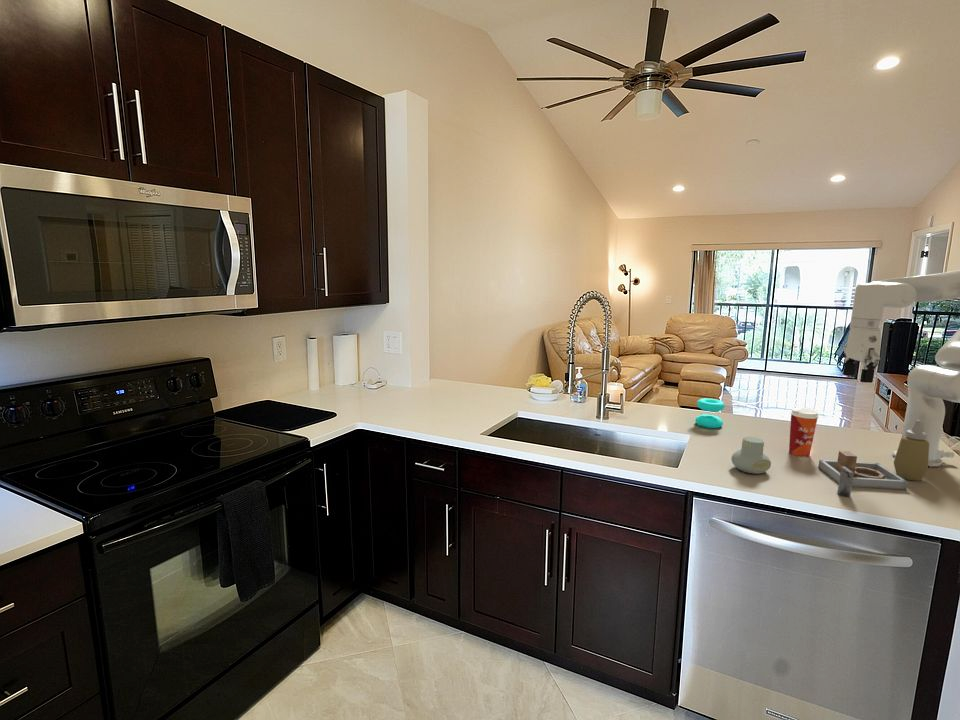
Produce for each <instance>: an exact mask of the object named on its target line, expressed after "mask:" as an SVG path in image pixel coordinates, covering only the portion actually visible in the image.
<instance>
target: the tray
mask: <svg viewBox="0 0 960 720" xmlns="http://www.w3.org/2000/svg"><path fill="white" fill-rule="evenodd" d="M837 461H838V460H831V459H830V460H829V459H819V461H818V469H820V470H821V471H822V472H823V473H825V474H826V475H828V476H829V477H830V478H831V479H832V480H834V481H835V482H836V483H838V484H839V478H840V473H839V472H838V471H837V470H836V468H837ZM856 467H866V468H870V469H873V470H877V471H879V472H881V473H882V474H884V475H885V479H874V478H858V477H853V481H852V488H853V487H854V488H855V487H856V488H870V489H881V490H882V489H883V490H900V491H901V490H902V491H903V490H904V491H907V489H908V484H909V482H908V481H907V479H904V478H901V477H899V476H898V475H896V472H895V473H894V472H893V471H892V470H890V469H889V468H887V467H885V466H883V465H882V464H880V463H879V462H864V461H856ZM860 474H863V475H867V476H874V475H870V474H866V473H860Z"/></svg>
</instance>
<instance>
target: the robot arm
mask: <svg viewBox="0 0 960 720" xmlns="http://www.w3.org/2000/svg"><path fill="white" fill-rule="evenodd" d="M853 297H854V298H853V302H852V303H853V304H852V305H853V306H852V312H851V318H850V325H849V328H850V329H849V334H848V337H847V342H846V345H845V347H843V358H844V359H843V363H844V365H843V371H842V375H843V376H855V374H856V373H855V372H856V367H857V363H856V362H860V363H861V364H862V366H863V368H862V369H861V373H860V379H859V381H860V383H870V384H871V383H873V381H874V376H875V371H876V369H877V367H878V365H879V362H880V360H881V357H880V355H881V346H882V345H881V344H882V341H881V340H882V338H881V337H882V336H881V335H882V334H881V328H882V327H881V326H882V322H883V321H882V319H883V313H884V308H891V309H903V308H907V307H909V306H911V305H912V304H914V303H915V302H916V303H935V302H941V301H942V302H943V301H947V300H953V299H954V300H955V299H958V298H959V299H960V269H955V270H951V271H946V272H945V271H944V272H939V273H932V274H923V275H916V276H906V277H895V278H887V279H881V280H875V281H872V282H863V283H859V284H857V285H856V286H855V290H854V296H853ZM934 360H935V362H936V364H937V365H938V366H937V365H932V364H922V365H917V366H916V367H914V368H912V369H911V370H910V371H909V373H908V375H907V396H908V397H907V404H906V410H905V415H904V421H903V422H904V423H903V428H902V432H901V433H902V434H901V438H902V437H904V436H906V431H907V430H911V429H912V427H913V425H914V423H915V421H916V420H921V424H922V432H924V433H926V434H927V435H926V439H925V440H927V441H928V442H929V458H928V466H929V467H930V468H932V467H937V468H938V467H941V466H942V465H943V460H942V458H950V459H951V458H954V457H955V453H954V452H953V451H945V450H944V449H940V448H939V447H940V442H941V437H942V431H943V426H944V425H943V424H944V421H945V416H946V406H945V403H944V400H945V401H949V402H951V403H959V404H960V327H959V328H958V329H957V331H956V332H955V333H953V335H952V336H951V337H950V338H949V339H948V340H947V341H946V342H945V343H944V344H943V345H942V346H941V347H940V348H939V349H938V351H937V352H936V353H935V357H934ZM897 450H898V449H895V450H893V451H892V456H893V457H894V458H895V456H896V453H897ZM929 467H928V468H929Z"/></svg>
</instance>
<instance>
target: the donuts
mask: <svg viewBox="0 0 960 720" xmlns="http://www.w3.org/2000/svg"><path fill="white" fill-rule="evenodd" d="M696 405H697V408H699V409H700V410H702V411H706V412H712V413H713V412H714V413H715V412H716V413H717V412H721V411H723V410H724V408H725V407H726V406H725V403H724V401H722V400H719V399H716V398H706V397H704V398H699V399H698V400H697V402H696ZM695 423H696V424H697V425H698V426H700V427H703V428H707V429H718V428H721V427H722V426H723V425H724V421H723V420H722V418H720V417H719V416H717V415H713V414H700V415H697V417H696V418H695Z"/></svg>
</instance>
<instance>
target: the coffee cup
mask: <svg viewBox="0 0 960 720" xmlns="http://www.w3.org/2000/svg"><path fill="white" fill-rule="evenodd" d="M789 414H790V426H789V427H790V428H789V445H788V446H789V447H788V451H789V453H790V454H791V453H792V454H791V455H793V454H794V456H797V455H798V456H797V457H803V456H806V457H809V456H810V455H811V454H810V453H811V450H812V447H813V441H814V438H815V437H814V436H815V432H816V428H817V424H818V423H817V422H818V419H819V417H820V416H819V413H818V412H817V410H814V409H809V408H805V407H804V408H803V407H793V408H792V410H791V411H790V413H789Z"/></svg>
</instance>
